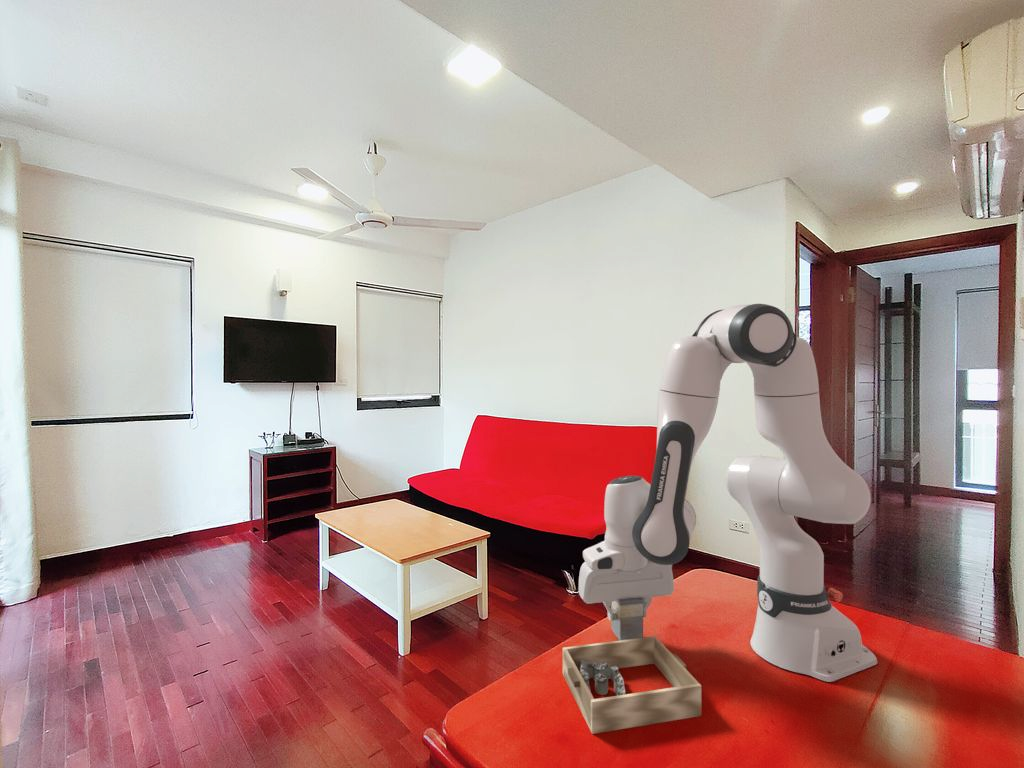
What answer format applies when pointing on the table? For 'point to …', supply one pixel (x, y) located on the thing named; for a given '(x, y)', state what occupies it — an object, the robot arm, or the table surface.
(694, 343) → the robot arm
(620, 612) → the tin
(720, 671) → the table surface
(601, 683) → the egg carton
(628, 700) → the tote
